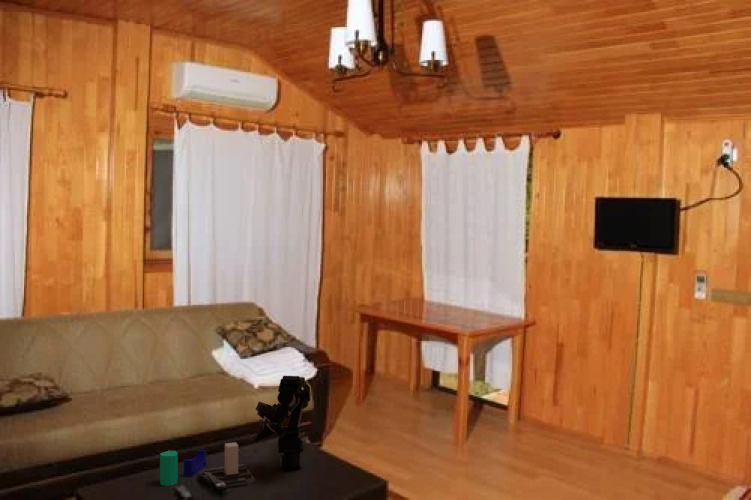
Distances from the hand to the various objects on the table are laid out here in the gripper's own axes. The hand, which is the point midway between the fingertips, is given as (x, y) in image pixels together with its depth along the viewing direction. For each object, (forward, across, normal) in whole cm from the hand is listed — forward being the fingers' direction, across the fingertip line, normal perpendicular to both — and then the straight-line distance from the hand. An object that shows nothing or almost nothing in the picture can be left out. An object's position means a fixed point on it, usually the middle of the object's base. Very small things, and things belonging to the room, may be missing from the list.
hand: (254, 441), depth 244 cm
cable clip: (+23, -14, -4) cm, 27 cm away
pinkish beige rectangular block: (+14, 0, +2) cm, 14 cm away
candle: (+30, -5, -12) cm, 33 cm away
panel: (+15, 0, +3) cm, 15 cm away
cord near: (+14, +8, +4) cm, 17 cm away
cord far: (+15, -8, +3) cm, 17 cm away
